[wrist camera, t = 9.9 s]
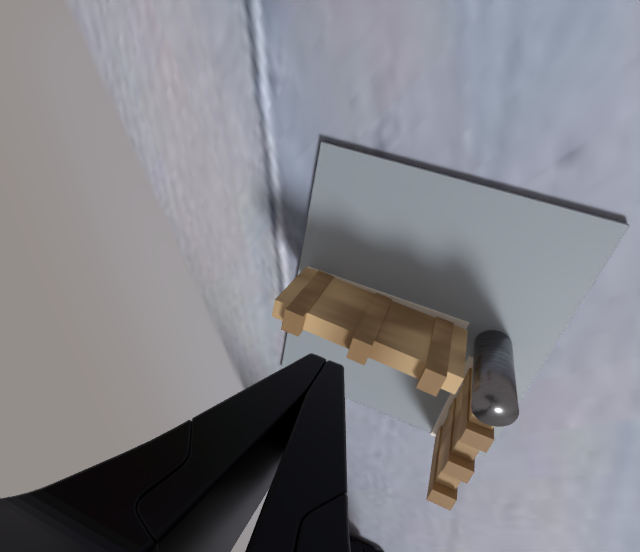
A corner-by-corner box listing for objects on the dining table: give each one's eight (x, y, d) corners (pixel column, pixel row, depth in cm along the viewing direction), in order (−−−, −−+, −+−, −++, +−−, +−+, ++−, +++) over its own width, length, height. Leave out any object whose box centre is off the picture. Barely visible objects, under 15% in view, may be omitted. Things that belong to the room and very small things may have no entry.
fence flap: (468, 328, 20) (464, 384, 16) (459, 346, 21) (453, 404, 17) (306, 265, 22) (270, 302, 18) (302, 283, 22) (266, 323, 19)
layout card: (485, 452, 24) (485, 457, 23) (282, 367, 27) (280, 371, 26) (627, 223, 16) (630, 226, 16) (323, 141, 19) (320, 142, 19)
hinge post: (503, 360, 21) (508, 432, 17) (468, 348, 21) (464, 415, 17) (518, 334, 20) (526, 403, 16) (481, 322, 20) (480, 385, 16)
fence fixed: (453, 448, 24) (447, 515, 20) (433, 439, 24) (423, 504, 20) (496, 369, 20) (498, 432, 17) (472, 361, 21) (469, 421, 17)
